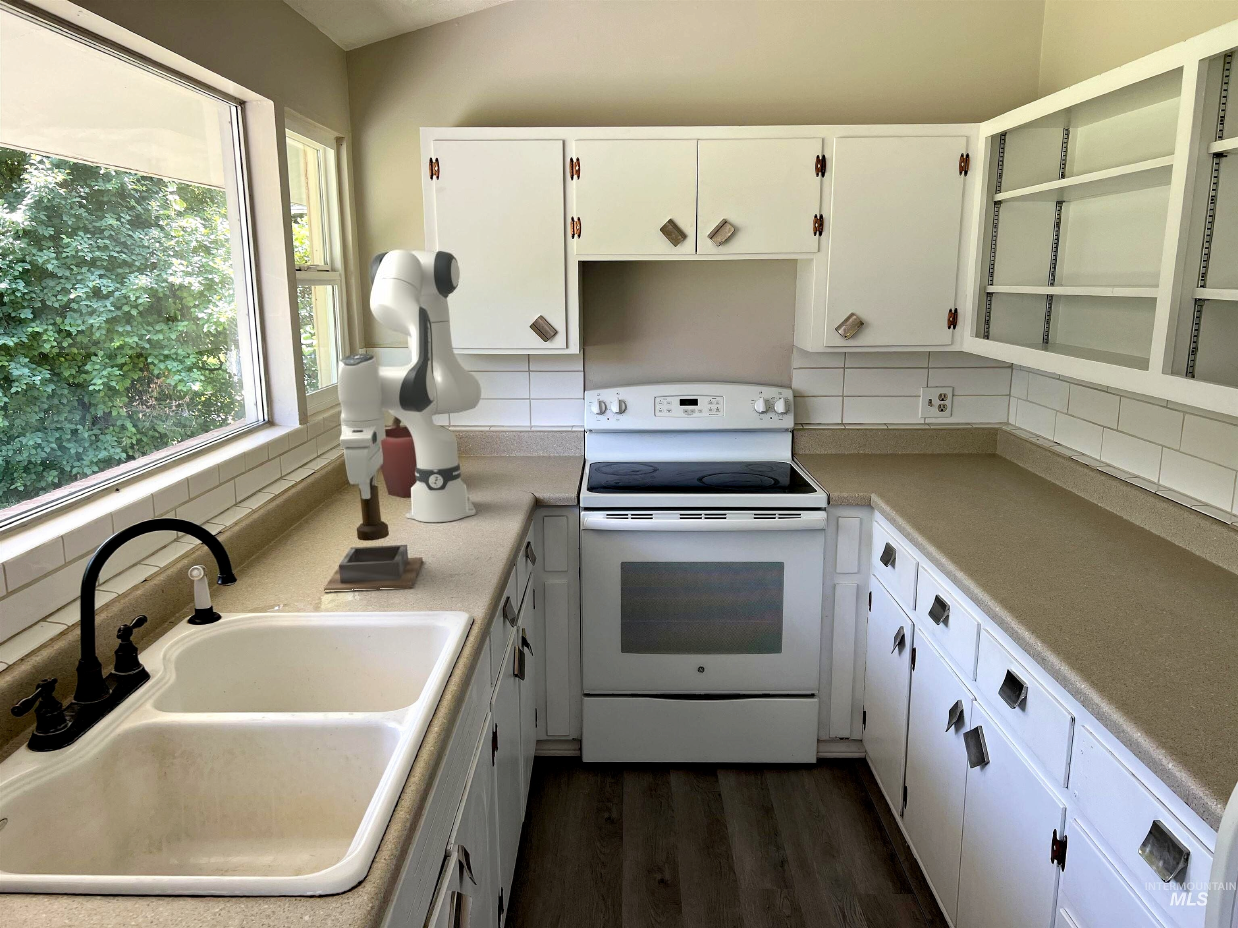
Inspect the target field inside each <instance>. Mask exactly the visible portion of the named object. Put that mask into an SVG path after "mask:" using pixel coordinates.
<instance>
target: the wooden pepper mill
mask: <svg viewBox="0 0 1238 928" xmlns="http://www.w3.org/2000/svg"><path fill="white" fill-rule="evenodd" d="M372 482H373V476H372V477H371V479H370V489H371V497H370V498H369V499H363V498H362V496H361V490H360V487H359V489H358V490H359V500H360V508H361V509H360V510H361V518H362V519H361V520H362V522H361V523H360V524H359V526H358V527H356V536H357V537H356V538H357V540H359V541H365V542H366V541H368V542H369V541H372V542H373V541H378V540H381V539H386V538H387V537H389V534H390V531H389V525H388V524H387V522H385V521H384V520H383V521H382V516H381V506H380V497H379V486H378V485H377V484H376V485H372Z"/></svg>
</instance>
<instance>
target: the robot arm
mask: <svg viewBox="0 0 1238 928" xmlns="http://www.w3.org/2000/svg"><path fill="white" fill-rule="evenodd" d="M369 266H370V267H369V278H370V283H371V285H372V288H371V292H370V297H369V298H370V300H369V305H370V306H369V307H370V310H371V313H372V315H373V317H374V318H375V319H376V320H377V321H378V323H380V325H382V326H384V327H385V328H387V329H389V330H391V331H393V332H397V333H401V334H403V335H405V336H407V348H408V351H409V352H410V353H411V362H410V363H409V364H406V365H402V366H401V365H400V366H395V365H394V366H383V365H378V362H377V358H376V356H375V355H373V354H369V353H361V352H360V353H354V354H349V355H346V356H344V357H342V358H341V359H340V360H339V362H338V369H337V393H338V401H339V403H340V407H341V414H340V425H341V426H340V427H341V429H340V431H341V434H340V438H339V443H340V448H344V449H343V456H344V461H345V469H346V470H345V471H346V475H347V479H348V482H349V484H350V485H358V487H359V488H360V490H361V496H362V498H363V499H369V498H370V497H371V489H370V479H371V477H372V476H373V482H372V485H376V486H377V472H378V470H379V469H381V467H380V466H381V465H382V464H383V454H382V445H381V440H384V439H385V438H386V436H385V429H386V427H385V425H386V424H385V415H384V412H383V411H388V412H389V413H390V414H391V415H392V416H393V417H394V416H396V417H397V418H398V419H400V420H401V423H403V424H404V425H405V426H407V428H408V429H409V431H410V433H411V435H412V438H413V441H414V446H415V453H416V463H417V466H416V467H415V475H416V480H417V482H416V483H415V485H413V487H412V488H411V498H410V500H411V501H410V502H411V509H410V510H408V512H406V514H405V518H407V519H413V520H416V521H418V522H425V523H443V522H451V521H452V522H453V521H457V520H461V519H463V518H465V517H470V516H475V515H476V514H477V511H476V509H475V507H474V505H473V503H472V501H471V499H470V497H469V496H468V491H467V490H468V489H467V485H466V484H465V482H463V480H462V478H461V476H462V473H461V472H462V468H461V464H460V463H459V456H458V453H459V452H458V442H457V437H456V435H455V434H454V432H453V431H452V430H451V431H450V429H449V430H448V428H447V429H445V428H446V427H445V428H443V427H444V426H443V427H441V426H442V425H438V424H436V423H434V420H433V416H436V415H445V414H447V415H448V414H449V415H450V414H459V413H464V412H466V411H469V410H473V409H475V408H476V407H477V406H478V405H479V404H480V401H481V397H482V388H481V387H482V386H481V384H480V382H479V380H478V379H477V378H476V376H475V375H474V374H473V373H471V372H469V371H468V370H467V369H465V367H464V366H462V364H461V363H460V362H459V360H458V358H457V356H456V354H455V351H454V347H453V341H452V334H451V333H452V332H451V322H450V321H451V320H450V308H449V302H448V297H449V296H450V295H451V294H453V293H454V292H455V291H456V289H457V288H458V286H459V282H460V278H461V277H460V276H461V270H460V266H459V263H458V259H457V258H456V257H455V256H454V255H453V253H451V252H448V251H445V250H438V251H433V250H425V249H424V250H422V249H421V250H420V249H417V250H416V249H413V250H405V249H394V250H390V251H386V252H385V251H384V252H382V253H379V254H377V255H376V256H375V257H374V258H372V260H371V261H370V265H369Z"/></svg>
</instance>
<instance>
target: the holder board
mask: <svg viewBox="0 0 1238 928" xmlns="http://www.w3.org/2000/svg"><path fill="white" fill-rule="evenodd" d="M423 562H424V559H423V557H422V556H420V557H418V556H416V557H415V556H413V557H409V553H408V544H396V545H395V544H394V545H392V544H391V545H375V546H374V545H373V546H371V545H370V546H351V547H350V548H349V550H348V551H347V553H346V554H345V555H344V557H343V558H342V559H341V561H340V563H339V564H338V567H337V569H336V570H335V571H334V573H333V574H332V575H331V577H330V579H329V581H327V583H325V584H326V585H325V586H324V587H323V592H324V591H325V590H352V589H353V590H354V589H380V588H409V589H413V587H412V586H414V583H415V582H416V580H417V577H418V573H419V571H420V569H421V567H422V564H423Z"/></svg>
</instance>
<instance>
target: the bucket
mask: <svg viewBox="0 0 1238 928" xmlns="http://www.w3.org/2000/svg"><path fill="white" fill-rule="evenodd" d="M401 423H402V421H401V420H400V419H398V418H397V417H396V416H394V415H393V418H392V420H391V424H390V428H385V436H386V438H385V439H384V440H381V445H382V454H383V464H382V465H381V466H380V471H381V473H382V477H383V480H384V485H385V487H386V488H385V489H386V491H387V493H388V496H392V497H398V498H400V499H401V498H402V499H411V488H412V487H413V485H415V483H416V482H417V480H416V475H415V467H416V466H417V463H416V453H415V446H414V441H413V438H412V435H411V433H410V431H409V429H408V428H407V426H406V425H405V426H402V425H401ZM440 426H441V427H443V428H445V429H448V428H447V427H445V426H443V425H440ZM448 430H450V429H448ZM450 431H451V432H452V430H450Z"/></svg>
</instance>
